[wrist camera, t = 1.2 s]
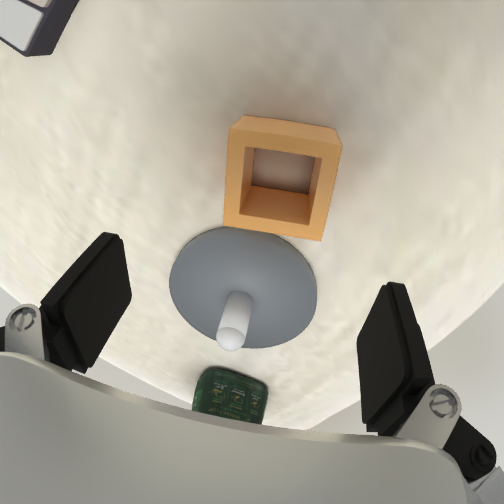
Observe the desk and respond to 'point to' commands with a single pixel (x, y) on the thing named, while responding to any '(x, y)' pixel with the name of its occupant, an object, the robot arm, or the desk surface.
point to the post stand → (243, 288)
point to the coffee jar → (230, 396)
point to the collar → (272, 200)
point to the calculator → (34, 24)
